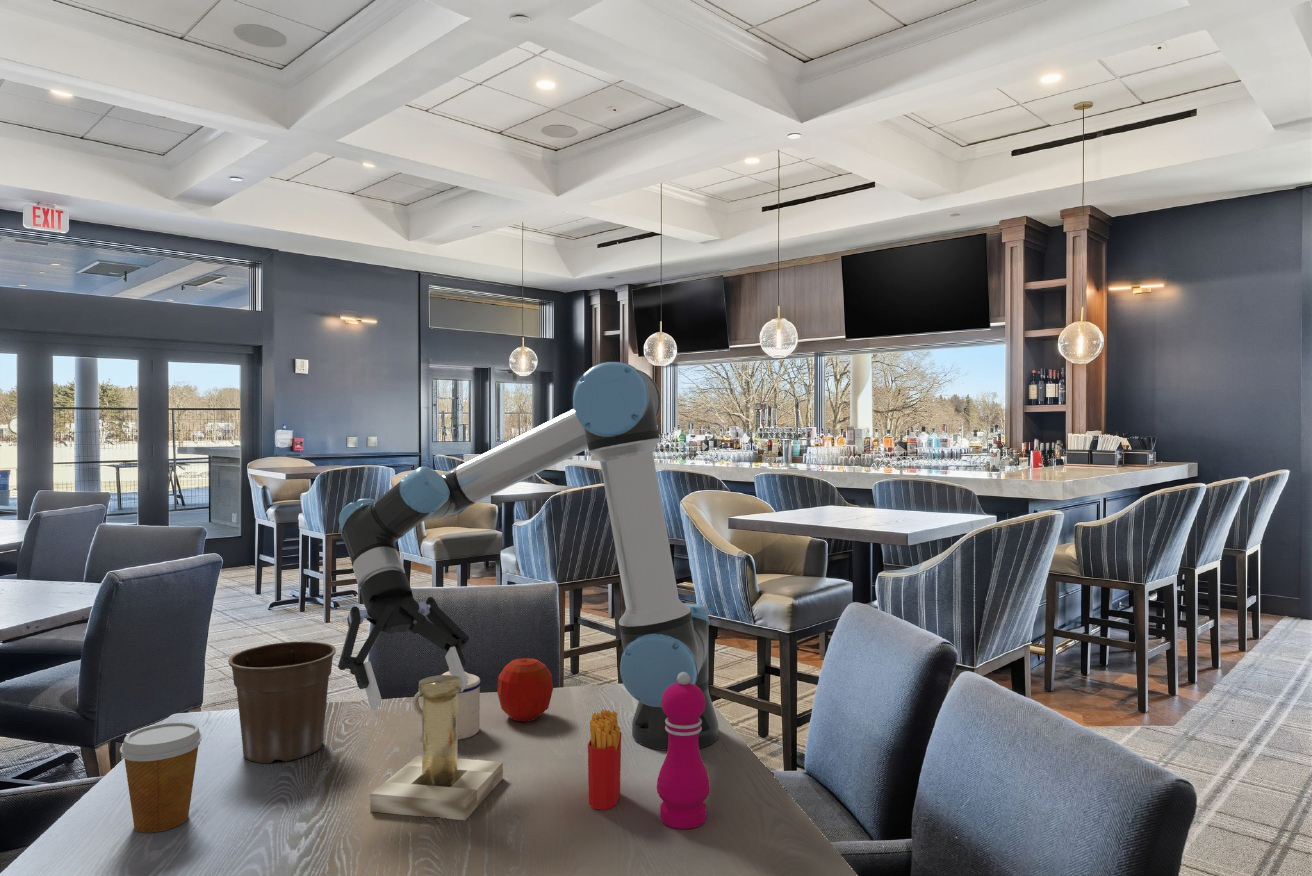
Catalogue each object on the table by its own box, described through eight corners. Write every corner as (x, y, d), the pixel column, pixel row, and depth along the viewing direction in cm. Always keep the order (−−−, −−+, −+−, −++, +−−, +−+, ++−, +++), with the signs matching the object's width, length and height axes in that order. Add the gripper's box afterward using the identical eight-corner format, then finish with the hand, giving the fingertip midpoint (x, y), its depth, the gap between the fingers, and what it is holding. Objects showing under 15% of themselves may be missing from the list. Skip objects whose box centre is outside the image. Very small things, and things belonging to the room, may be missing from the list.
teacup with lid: (487, 724, 148) (487, 660, 148) (471, 742, 139) (471, 674, 139) (423, 722, 149) (423, 658, 149) (403, 740, 140) (403, 672, 140)
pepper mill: (693, 836, 106) (693, 683, 106) (646, 822, 110) (647, 674, 110) (718, 815, 112) (719, 669, 112) (674, 802, 116) (674, 662, 116)
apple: (561, 711, 155) (561, 651, 155) (537, 729, 145) (537, 664, 145) (513, 706, 158) (513, 646, 158) (487, 723, 149) (487, 659, 149)
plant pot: (283, 776, 125) (283, 671, 125) (204, 761, 130) (204, 660, 130) (356, 739, 140) (356, 646, 140) (283, 728, 146) (283, 638, 146)
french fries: (611, 813, 113) (612, 726, 113) (584, 811, 113) (584, 724, 113) (624, 787, 121) (624, 706, 121) (598, 785, 122) (598, 705, 122)
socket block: (502, 778, 124) (502, 762, 124) (465, 820, 110) (465, 801, 110) (417, 771, 127) (417, 755, 127) (370, 811, 113) (370, 793, 113)
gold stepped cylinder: (467, 787, 121) (467, 676, 121) (450, 805, 115) (450, 688, 115) (429, 784, 122) (430, 674, 122) (410, 801, 116) (411, 685, 116)
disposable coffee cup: (150, 805, 115) (150, 720, 115) (216, 806, 114) (216, 721, 114) (101, 838, 105) (102, 745, 105) (174, 840, 105) (174, 746, 105)
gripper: (446, 587, 143) (487, 693, 132) (297, 605, 127) (330, 727, 116) (460, 560, 139) (504, 667, 128) (309, 575, 123) (343, 699, 111)
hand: (421, 696), depth 122 cm, fingers open, 13 cm apart
